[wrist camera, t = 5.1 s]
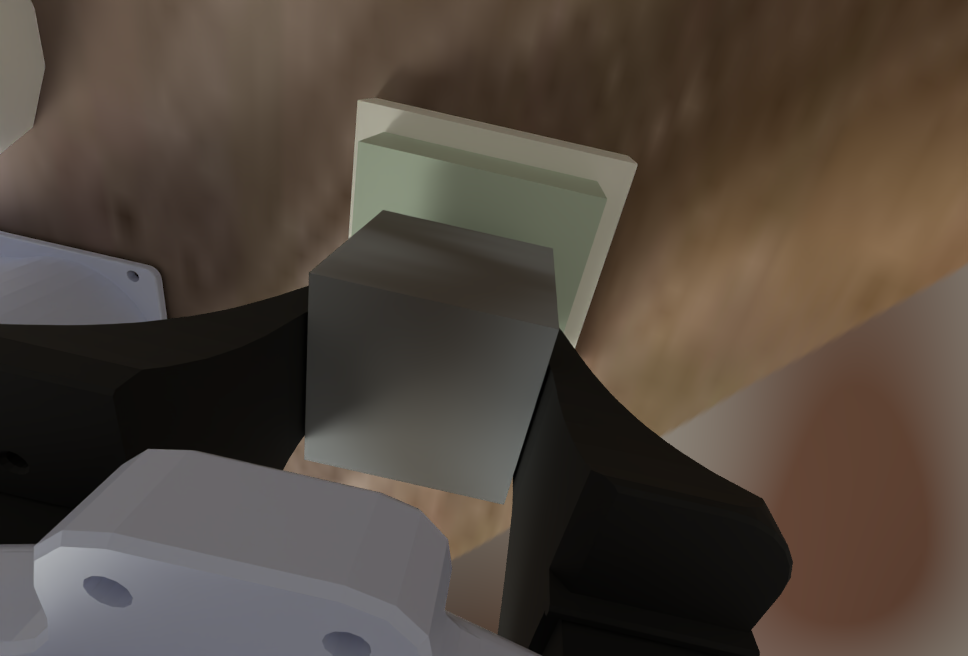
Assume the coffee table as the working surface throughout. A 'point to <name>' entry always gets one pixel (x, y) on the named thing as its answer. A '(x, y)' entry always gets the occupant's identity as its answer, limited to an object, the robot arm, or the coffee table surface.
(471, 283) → the slate cube
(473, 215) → the tower top slab
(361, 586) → the robot arm
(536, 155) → the tower base slab
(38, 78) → the teardrop
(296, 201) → the coffee table surface
